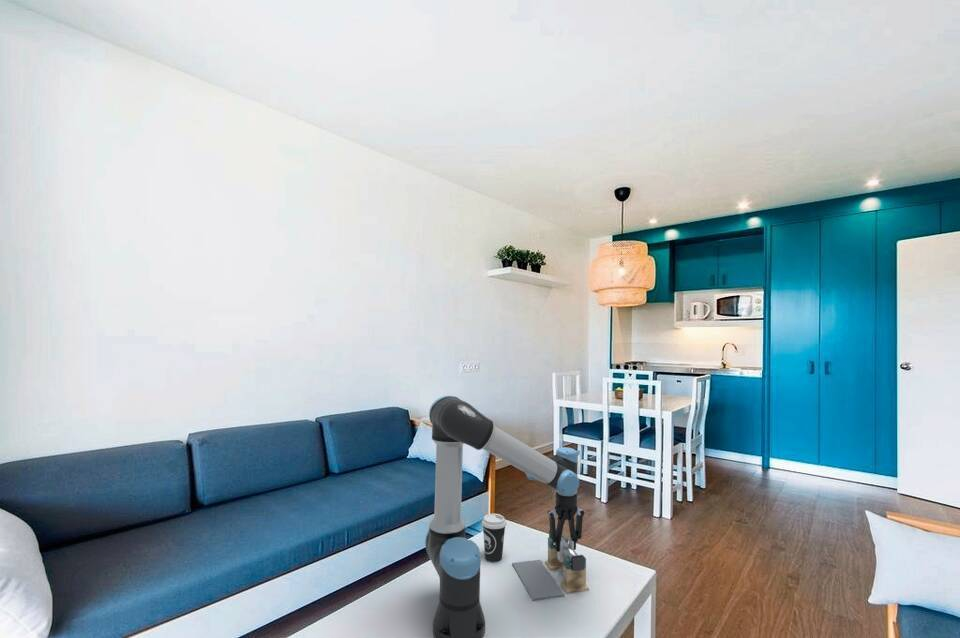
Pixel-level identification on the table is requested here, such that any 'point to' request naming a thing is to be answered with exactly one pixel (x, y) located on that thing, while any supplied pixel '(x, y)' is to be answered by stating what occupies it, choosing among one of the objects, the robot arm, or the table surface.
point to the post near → (574, 578)
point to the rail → (572, 556)
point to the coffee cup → (493, 536)
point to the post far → (554, 556)
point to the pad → (537, 580)
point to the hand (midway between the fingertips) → (565, 559)
